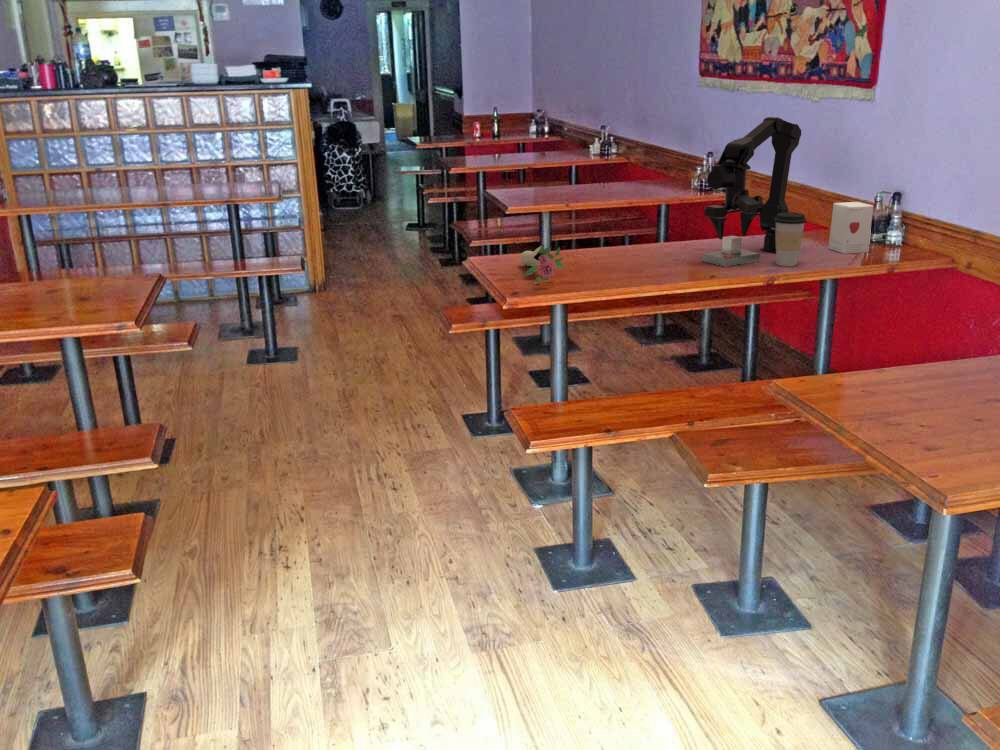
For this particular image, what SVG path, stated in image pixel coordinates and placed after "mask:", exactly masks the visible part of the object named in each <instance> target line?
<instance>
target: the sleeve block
mask: <svg viewBox="0 0 1000 750" xmlns="http://www.w3.org/2000/svg"><path fill="white" fill-rule="evenodd" d="M701 255H702V259H701V261H702V262H703V261H704V262H703V263H707V262H708V263H707V264H711V263H713V264H712V265H714V264H717V265H716V266H718V265H720V266H719V267H722V266H728V267H732V266H731V265H735V266H738V265H737V264H741V265H744V264H743V263H748V264H751V263H750V262H754V263H758V262H757V261H759V262H760V261H761V260H760V258H761V254H760V253H759V252H755V251H751V250H746V249H743V248H741V254H739V255H726V254H722V250H718V251H717V250H716V251H709V252H704V253H703V252H702V254H701Z"/></svg>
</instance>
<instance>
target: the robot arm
mask: <svg viewBox="0 0 1000 750" xmlns="http://www.w3.org/2000/svg"><path fill="white" fill-rule="evenodd" d="M801 136H802V129H801V128H800V126H799V124H797V123H792V122H789V121H786V120H784V119H782V118H781V117H777V116H776V117H774V116H773V117H771V116H768V117H765V118H764V119H763V121H762V122H761V123H759V124H758V125H757V126H756V127H754V128H753V129H751V131H750V132H748V133H747V134H746V135H745V136H743V137H740V138H738V139H733V140H731V141H730V142H727V144H726V145H725V147H724V149H723V150H722V153H721V155H720V157H719V159H718V161H717V163H716V164H715V165H714V166H713V169H712V170H711V171H710V172H709V174H708V176H707V184H708V186H709V188H711V189H713V190H721V189H722V193H724V195H725V196H724V201H723V202H721V205H717V204H715V205H708V206H706V207H705V208H704V214H703V215H704V216H706V217H707V219H710V222H711V224H712V225H713V227H714V229H715V232H716V235H717V237H718V239H719V240H723V237H724V232H725V231H724V229H725V223H726V221H727V220H728V217H726V216H727V215H728V214H731V213H732V214H733V213H739V215H740V217H739V218H740V228H741V235H742V236H741V237H746V236H747V234H748V231H749V229H750V227H751V225H752V222H753V220H754V219H755V218H757V217H758V220H759V226H760V231H762V232H765V233H764V234H765V235H764V239H763V241H764V242H763V247H760V250H762V251H765V252H770V253H776V238H775V230H776V222H774V218H775V217H776V216H777V214H778V213H789V207H788V205H787V203H786V194H787V193H786V192H787V185H788V180H789V174H790V173H789V172H790V167H791V160H792V154H793V152H794V151H795V150H796V149H797V147H798V146H799V144H800V139H801ZM769 138H771V145H772V148H773V150H774V159H773V165H772V166H773V167H772V174H771V178H770V179H771V181H770V186H769V193H768V198H767V200H766V201H765V202H764V203H763V201H764V200H763V196H762V195H754V196H750V193H749V189H746V182H747V171H748V170H751V166H750V165H749V164H748V162H749V161H750V160H751V159H752V158H753V157H754V155H755V150H756V149H757V148H758V147H760V146H761V145H762V144H763V143H764V142H766V141H767V140H768V139H769Z"/></svg>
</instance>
